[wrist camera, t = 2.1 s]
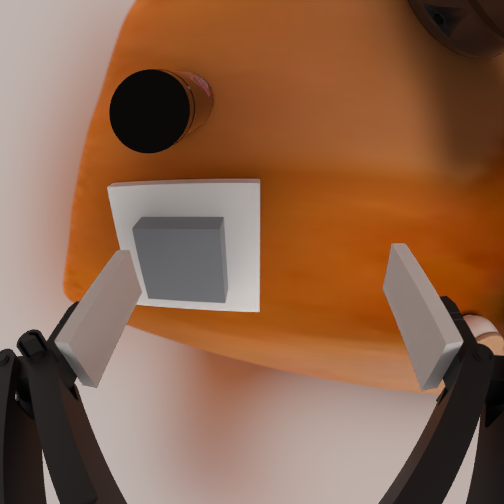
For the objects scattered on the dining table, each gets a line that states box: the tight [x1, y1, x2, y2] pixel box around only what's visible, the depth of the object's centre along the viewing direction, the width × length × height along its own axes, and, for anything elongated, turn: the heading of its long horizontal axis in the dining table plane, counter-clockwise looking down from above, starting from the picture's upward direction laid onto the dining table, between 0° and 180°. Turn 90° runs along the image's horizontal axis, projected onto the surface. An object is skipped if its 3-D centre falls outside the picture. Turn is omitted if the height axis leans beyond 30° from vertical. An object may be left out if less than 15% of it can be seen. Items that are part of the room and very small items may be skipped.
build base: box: [107, 179, 260, 312], centre depth 37 cm, size 18×18×4 cm
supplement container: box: [109, 69, 213, 153], centre depth 25 cm, size 7×7×10 cm
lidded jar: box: [463, 315, 504, 355], centre depth 40 cm, size 11×11×9 cm
